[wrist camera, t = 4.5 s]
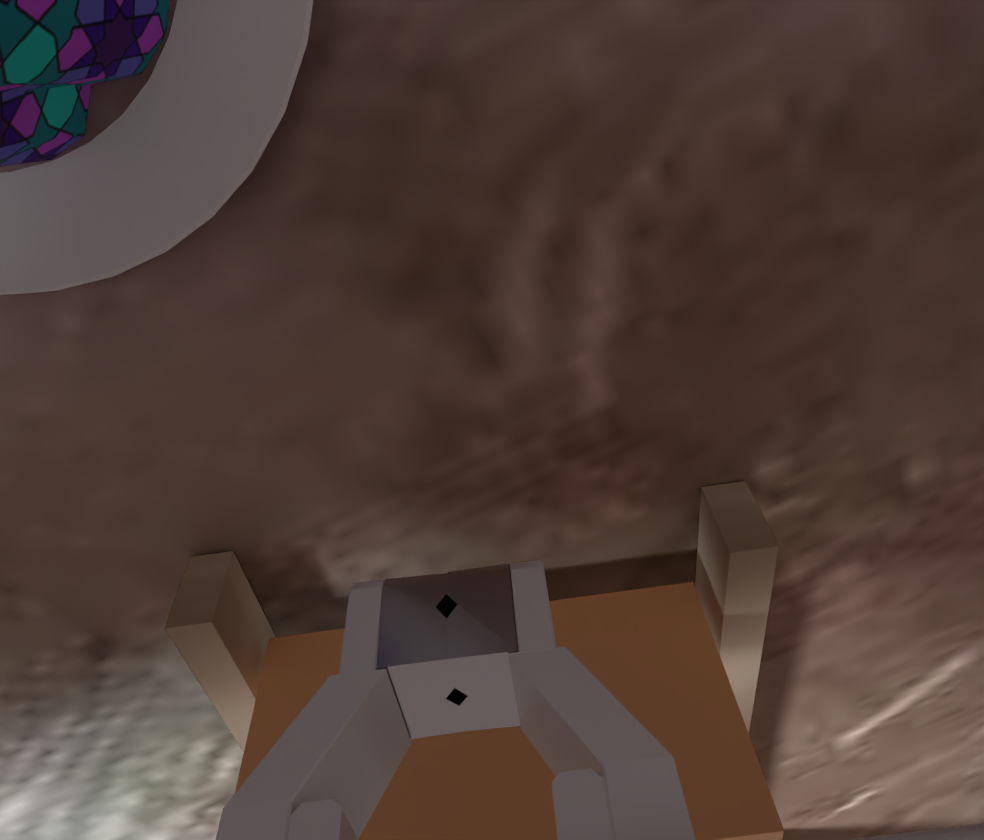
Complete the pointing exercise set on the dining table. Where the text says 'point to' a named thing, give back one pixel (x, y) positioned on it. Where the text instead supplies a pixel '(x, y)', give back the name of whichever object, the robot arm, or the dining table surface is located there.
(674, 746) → the sled fence
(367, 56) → the dining table surface
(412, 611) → the robot arm
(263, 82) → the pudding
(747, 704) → the tunnel track
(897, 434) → the dining table surface
